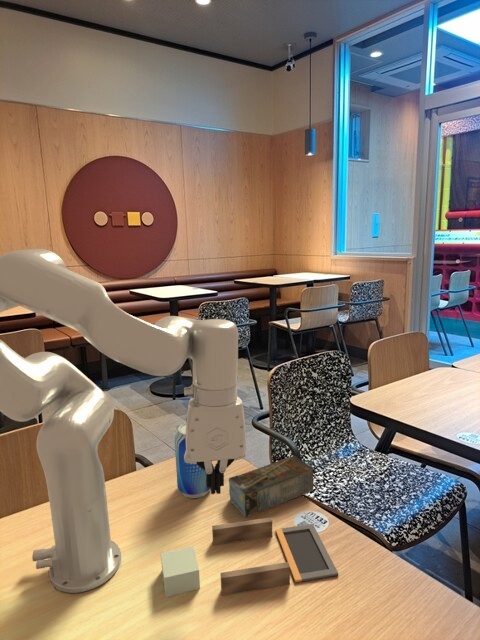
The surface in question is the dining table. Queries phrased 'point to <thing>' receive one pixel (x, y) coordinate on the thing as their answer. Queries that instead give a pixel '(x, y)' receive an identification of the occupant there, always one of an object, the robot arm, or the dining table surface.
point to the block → (180, 571)
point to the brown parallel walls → (256, 575)
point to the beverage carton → (270, 485)
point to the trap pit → (305, 553)
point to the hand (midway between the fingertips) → (214, 489)
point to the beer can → (188, 470)
